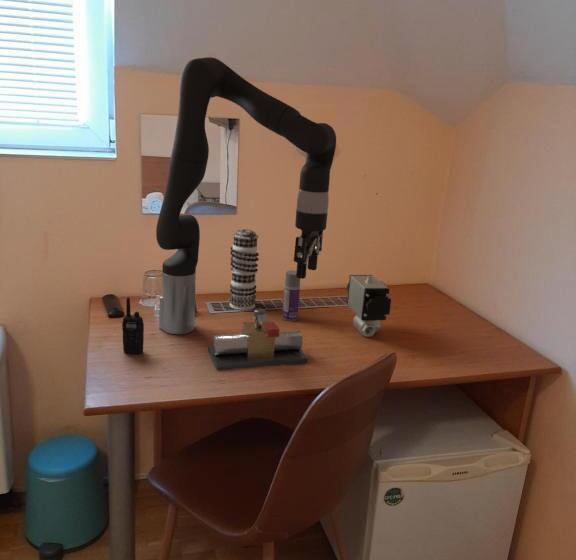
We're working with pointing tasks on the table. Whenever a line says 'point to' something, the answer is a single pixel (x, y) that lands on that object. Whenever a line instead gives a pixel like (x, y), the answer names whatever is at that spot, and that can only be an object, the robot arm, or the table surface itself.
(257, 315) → the valve lever
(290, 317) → the container
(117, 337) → the table surface
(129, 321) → the two-way radio
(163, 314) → the robot arm
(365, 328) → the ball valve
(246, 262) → the black and white cylinder
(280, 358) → the valve board
